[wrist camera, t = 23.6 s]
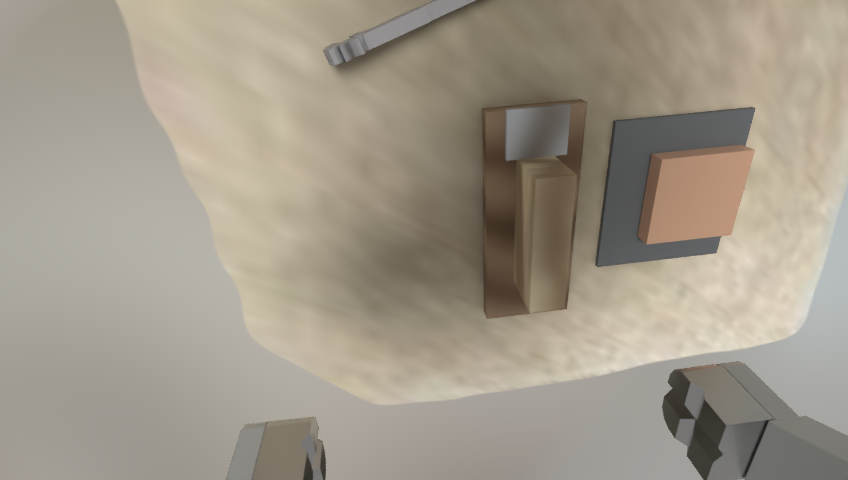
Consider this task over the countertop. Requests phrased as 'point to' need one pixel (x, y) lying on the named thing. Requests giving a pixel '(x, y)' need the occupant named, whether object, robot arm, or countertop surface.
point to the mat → (631, 173)
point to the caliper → (390, 30)
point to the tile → (693, 193)
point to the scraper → (541, 202)
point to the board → (501, 207)
